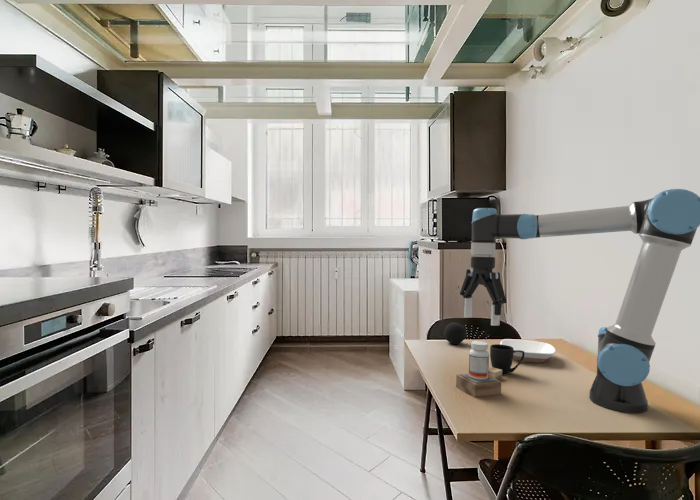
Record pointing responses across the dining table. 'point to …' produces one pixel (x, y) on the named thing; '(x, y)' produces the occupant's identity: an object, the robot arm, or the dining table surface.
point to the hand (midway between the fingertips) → (480, 321)
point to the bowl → (530, 350)
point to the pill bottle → (479, 360)
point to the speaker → (454, 333)
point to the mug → (503, 357)
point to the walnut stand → (478, 385)
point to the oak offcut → (495, 373)
